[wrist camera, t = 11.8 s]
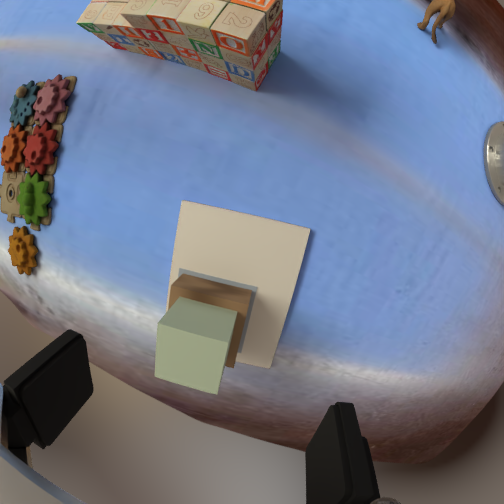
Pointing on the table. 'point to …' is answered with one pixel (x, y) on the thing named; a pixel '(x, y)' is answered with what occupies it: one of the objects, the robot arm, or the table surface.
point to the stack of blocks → (194, 33)
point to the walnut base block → (215, 303)
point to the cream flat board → (243, 267)
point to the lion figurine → (446, 7)
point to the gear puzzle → (32, 161)
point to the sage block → (194, 344)
